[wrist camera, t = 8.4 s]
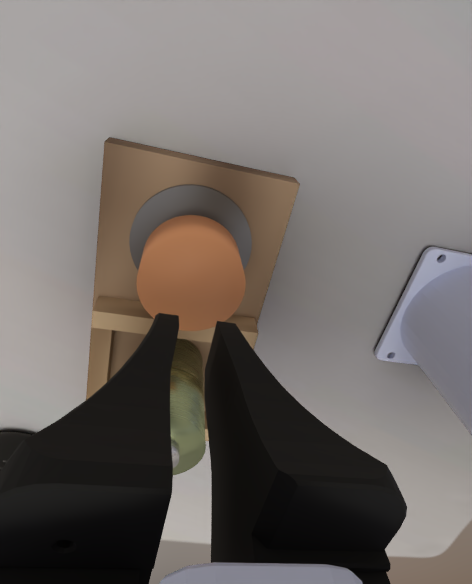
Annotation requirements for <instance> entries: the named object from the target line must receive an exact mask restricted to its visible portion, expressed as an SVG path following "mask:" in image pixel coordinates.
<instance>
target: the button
mask: <svg viewBox="0 0 472 584" xmlns="http://www.w3.org/2000/svg"><path fill="white" fill-rule="evenodd" d="M136 286H137V293H138V296H139V299H140V301H141V303H142V305H143V307H144V308H145V310H146V311H147V312H148V313H149V314H150V315H151V316H152V317H153V318H154V319H155V315H157V314H158V313H164V314H171V315H178V316H179V330H182V331H200V330H205V329H209V328H212V327H215V326H216V323H217V321H221V322H224V321H225V320H227V319H228V318H229V317H230V316H232V315H233V313H234V312H235V311H236V310H237V309H238V307H239V306H240V304H241V302H242V300H243V297H244V293H245V288H246V280H245V274H244V270H243V266H242V262H241V258H240V254H239V250H238V247H237V244H236V242H235V240H234V238H233V236H232V235H231V234H230V232H229V231H228V230H227V229H226V228H225V227H223V226H222V225H221V224H219V223H218V222H216V221H214V220H212V219H210V218H207V217H203V216H198V215H184V216H178V217H174V218H172V219H169V220H167V221H165V222H164V223H162V224H161V225H159V226H158V227H157V228H156V229H155V230H154V231H153V232H152V233H151V235H150V236H149V238H148V239H147V241H146V244H145V246H144V250H143V254H142V258H141V262H140V266H139V270H138V274H137V282H136Z"/></svg>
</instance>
